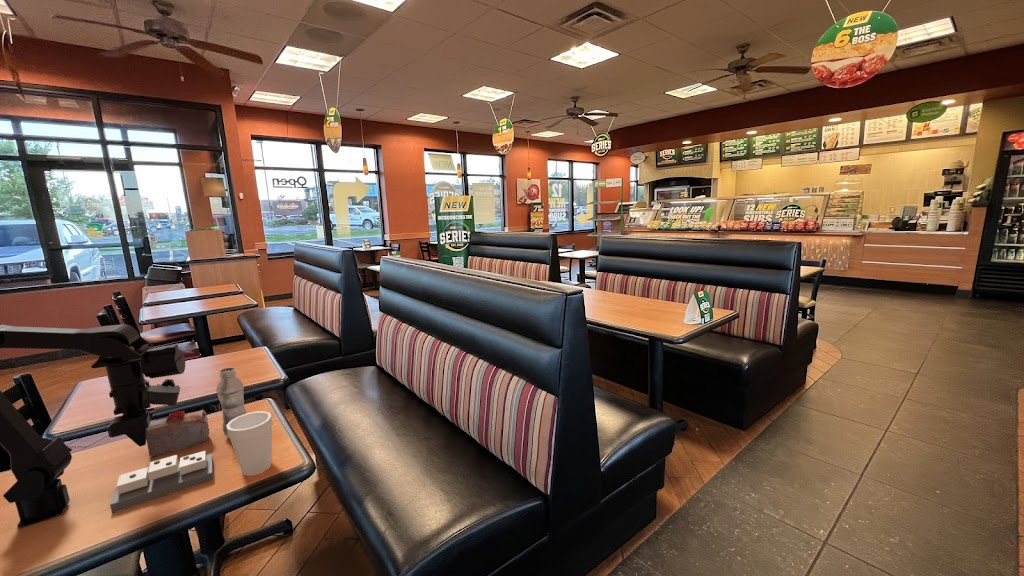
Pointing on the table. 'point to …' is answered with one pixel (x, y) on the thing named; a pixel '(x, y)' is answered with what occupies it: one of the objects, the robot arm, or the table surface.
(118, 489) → the key one
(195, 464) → the key three
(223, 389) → the plastic bottle
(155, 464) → the key two
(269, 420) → the foam cup
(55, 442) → the robot arm
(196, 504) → the table surface
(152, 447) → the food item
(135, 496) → the keypad board
